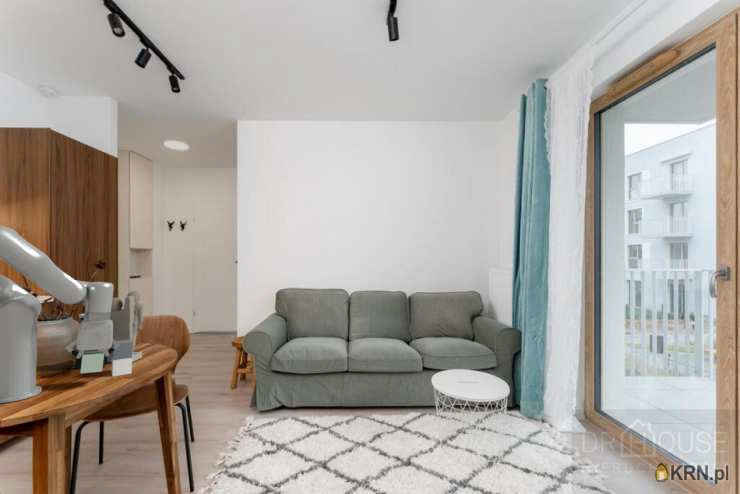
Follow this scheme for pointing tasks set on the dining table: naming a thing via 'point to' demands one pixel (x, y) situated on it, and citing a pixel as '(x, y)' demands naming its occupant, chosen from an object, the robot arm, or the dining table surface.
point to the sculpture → (127, 321)
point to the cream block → (121, 366)
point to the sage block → (92, 361)
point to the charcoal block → (123, 350)
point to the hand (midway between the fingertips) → (91, 367)
